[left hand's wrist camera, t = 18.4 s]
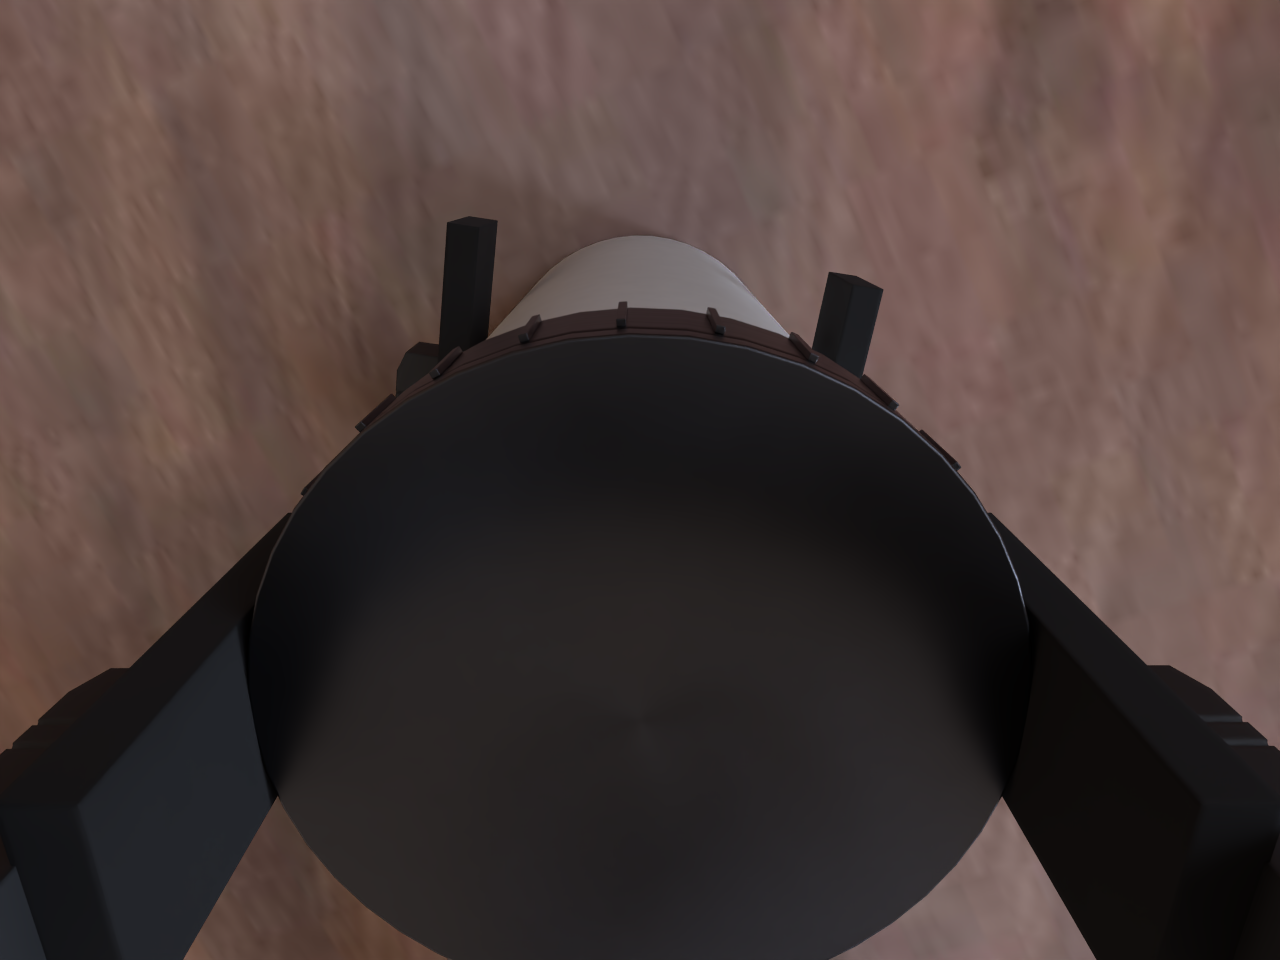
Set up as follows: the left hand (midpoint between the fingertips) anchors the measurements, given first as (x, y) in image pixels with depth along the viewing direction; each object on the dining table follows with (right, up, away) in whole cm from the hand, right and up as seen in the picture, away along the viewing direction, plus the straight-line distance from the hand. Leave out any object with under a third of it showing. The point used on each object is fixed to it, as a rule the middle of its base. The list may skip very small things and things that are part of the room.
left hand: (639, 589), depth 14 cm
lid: (0, -1, -3) cm, 3 cm away
